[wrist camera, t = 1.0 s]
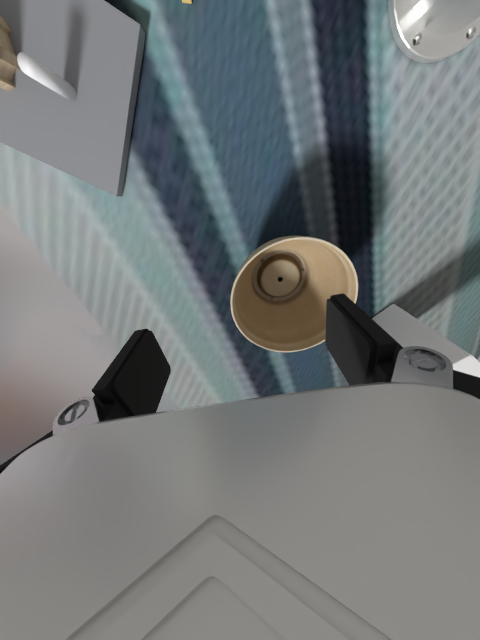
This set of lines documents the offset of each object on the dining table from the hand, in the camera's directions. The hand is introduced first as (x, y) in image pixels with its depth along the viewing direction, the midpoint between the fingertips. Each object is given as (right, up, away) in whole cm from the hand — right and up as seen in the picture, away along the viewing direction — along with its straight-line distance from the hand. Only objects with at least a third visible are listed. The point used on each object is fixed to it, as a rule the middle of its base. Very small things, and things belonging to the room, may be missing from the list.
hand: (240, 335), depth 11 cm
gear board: (-22, +28, +12) cm, 38 cm away
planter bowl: (+7, +9, +25) cm, 27 cm away
